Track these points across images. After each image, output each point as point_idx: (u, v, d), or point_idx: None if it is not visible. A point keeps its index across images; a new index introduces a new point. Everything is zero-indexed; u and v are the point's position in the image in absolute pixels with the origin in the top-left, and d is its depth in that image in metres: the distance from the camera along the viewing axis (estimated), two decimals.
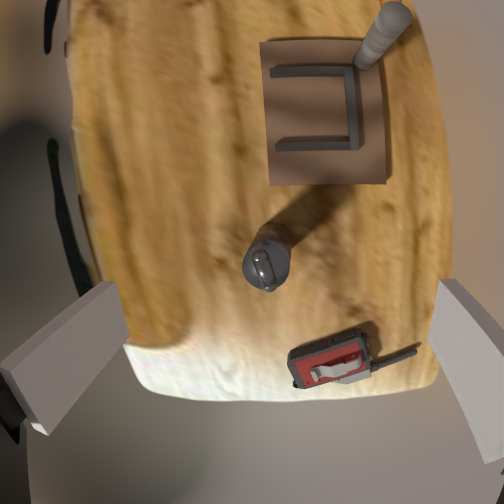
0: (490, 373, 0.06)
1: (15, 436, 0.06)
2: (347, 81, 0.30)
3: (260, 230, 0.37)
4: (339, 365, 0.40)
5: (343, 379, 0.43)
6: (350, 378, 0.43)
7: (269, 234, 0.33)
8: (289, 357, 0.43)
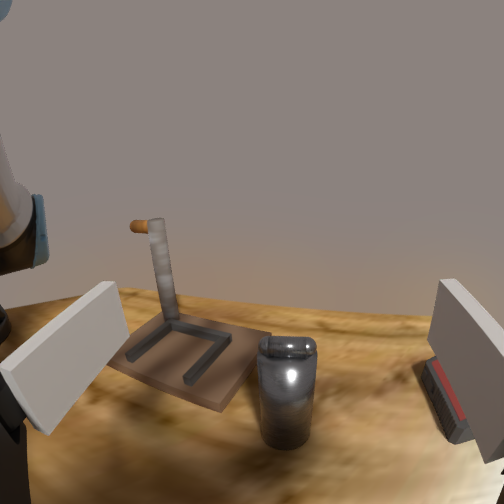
0: (490, 372, 0.06)
1: (15, 436, 0.06)
2: (176, 323, 0.41)
3: (261, 420, 0.25)
4: None
5: None
6: None
7: None
8: (455, 433, 0.20)
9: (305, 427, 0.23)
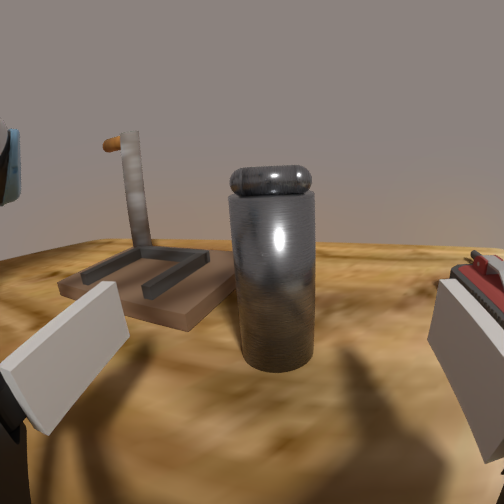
0: (489, 372, 0.06)
1: (15, 436, 0.06)
2: (146, 248, 0.35)
3: None
4: (493, 264, 0.19)
5: None
6: None
7: None
8: None
9: (306, 326, 0.17)
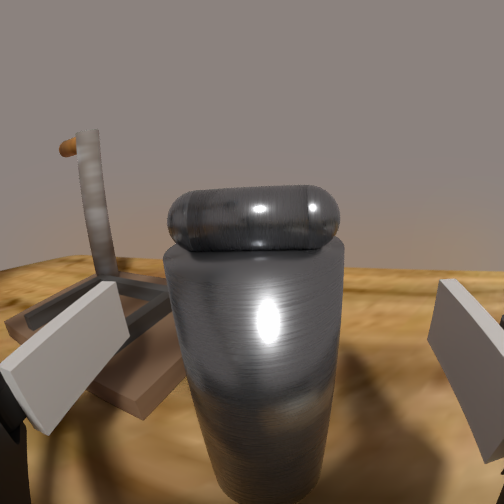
0: (490, 372, 0.06)
1: (15, 436, 0.06)
2: (108, 279, 0.26)
3: None
4: None
5: None
6: None
7: None
8: None
9: (312, 462, 0.09)
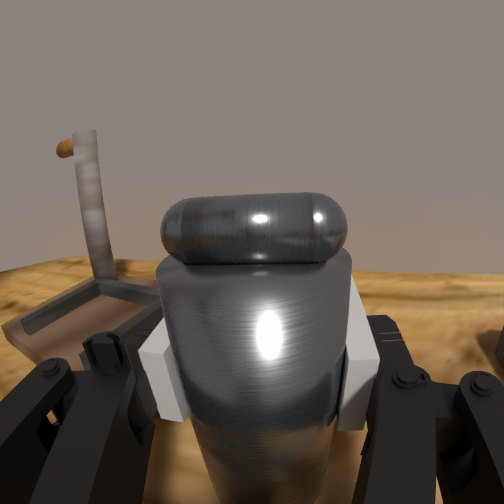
0: None
1: (140, 435, 0.07)
2: (105, 282, 0.26)
3: None
4: None
5: None
6: None
7: None
8: None
9: (314, 478, 0.08)
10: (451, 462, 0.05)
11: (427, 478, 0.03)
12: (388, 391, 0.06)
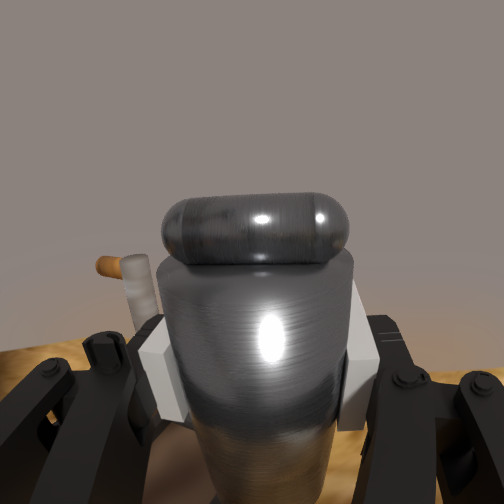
0: None
1: (140, 435, 0.07)
2: None
3: None
4: None
5: None
6: None
7: None
8: None
9: (315, 479, 0.08)
10: (452, 462, 0.05)
11: (427, 478, 0.03)
12: (388, 391, 0.06)
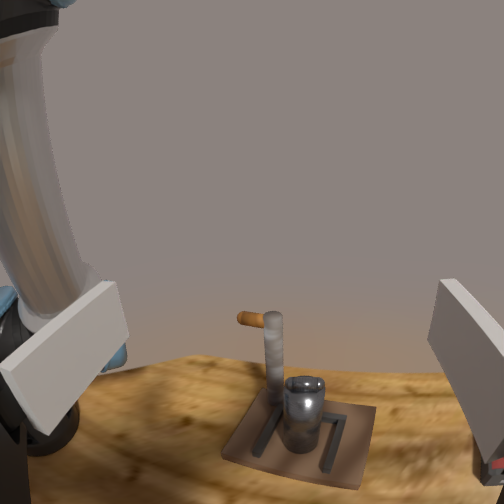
0: (489, 372, 0.06)
1: (15, 436, 0.06)
2: None
3: (283, 433, 0.33)
4: None
5: None
6: None
7: None
8: (486, 477, 0.21)
9: (315, 437, 0.32)
10: None
11: None
12: None
